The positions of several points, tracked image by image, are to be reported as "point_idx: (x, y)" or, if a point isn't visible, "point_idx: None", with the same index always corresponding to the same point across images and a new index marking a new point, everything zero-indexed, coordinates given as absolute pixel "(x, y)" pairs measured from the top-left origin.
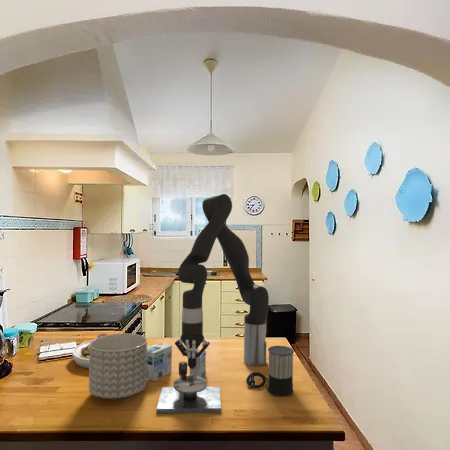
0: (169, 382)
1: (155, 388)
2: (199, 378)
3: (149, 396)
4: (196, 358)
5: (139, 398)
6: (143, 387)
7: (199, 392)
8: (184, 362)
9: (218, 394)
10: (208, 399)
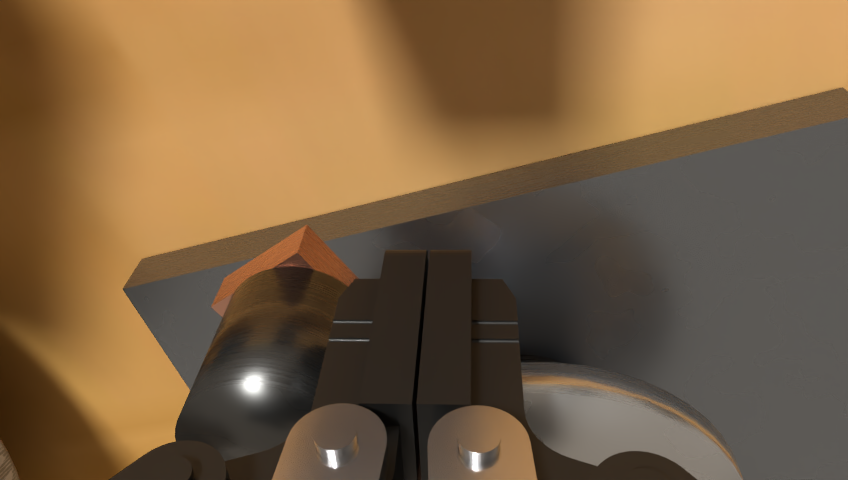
0: (51, 7)
1: (16, 209)
2: (629, 445)
3: (91, 362)
4: (522, 409)
5: (37, 405)
6: (4, 467)
7: (600, 310)
8: (267, 411)
9: (845, 304)
10: (727, 410)
